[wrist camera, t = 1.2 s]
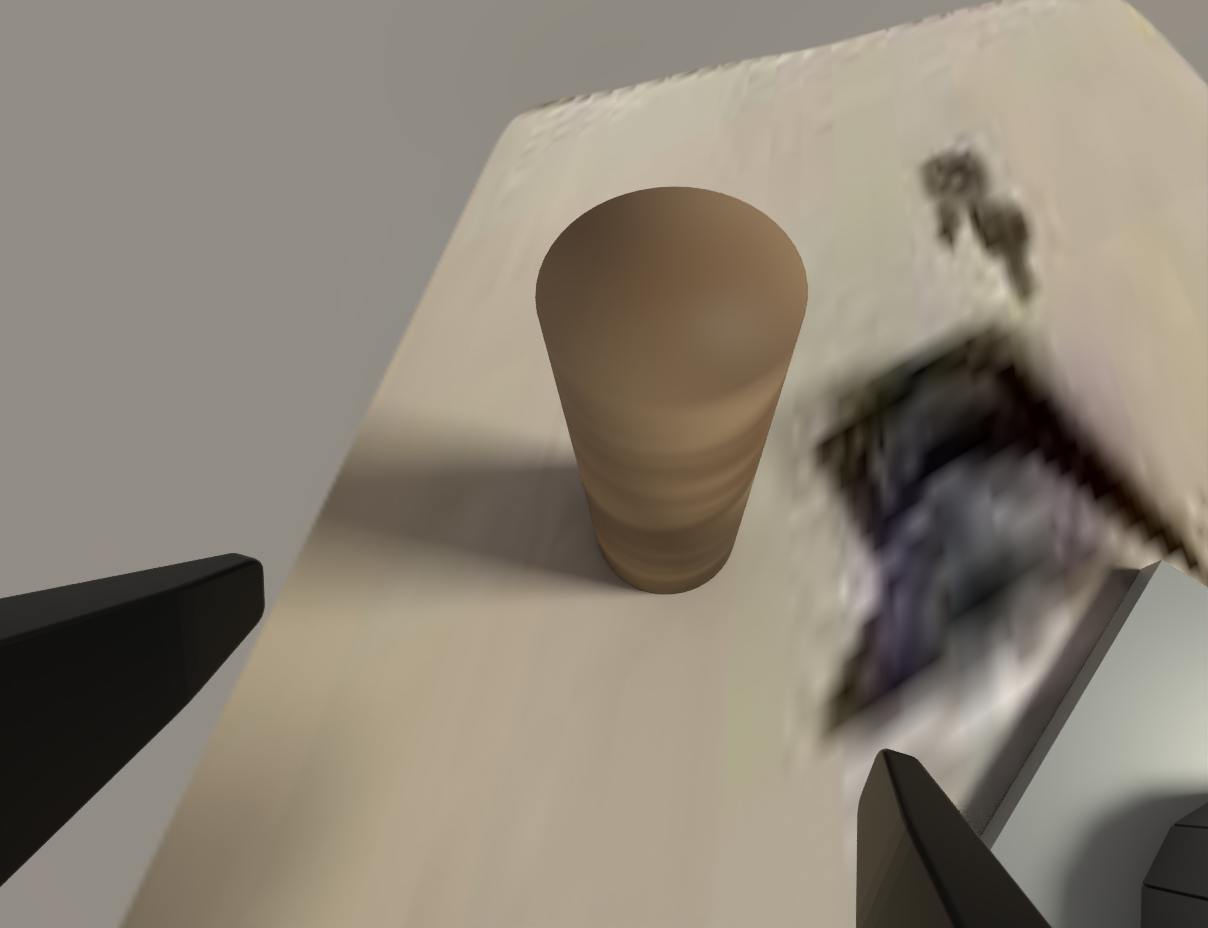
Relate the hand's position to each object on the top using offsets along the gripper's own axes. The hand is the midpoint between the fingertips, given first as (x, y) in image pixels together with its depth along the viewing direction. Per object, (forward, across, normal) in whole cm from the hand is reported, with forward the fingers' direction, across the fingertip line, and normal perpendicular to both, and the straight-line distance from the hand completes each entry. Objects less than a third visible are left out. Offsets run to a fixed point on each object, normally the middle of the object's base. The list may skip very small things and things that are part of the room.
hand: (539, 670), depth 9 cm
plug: (+14, 0, +4) cm, 15 cm away
